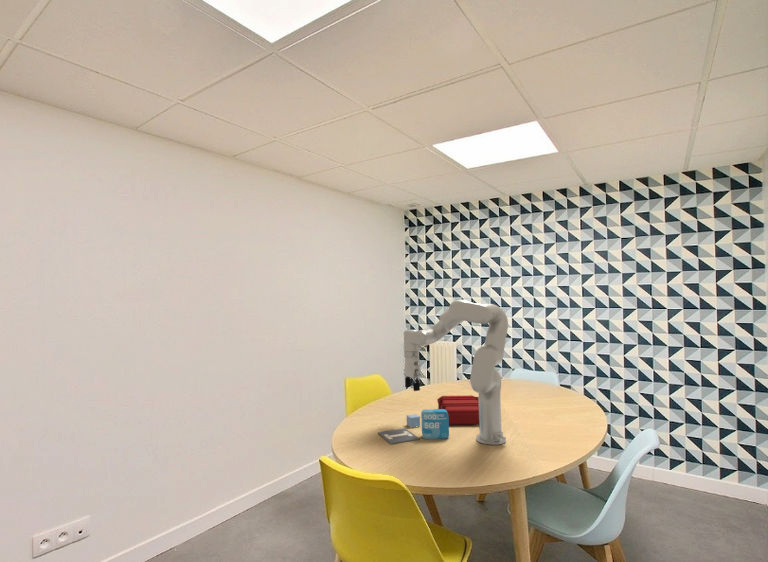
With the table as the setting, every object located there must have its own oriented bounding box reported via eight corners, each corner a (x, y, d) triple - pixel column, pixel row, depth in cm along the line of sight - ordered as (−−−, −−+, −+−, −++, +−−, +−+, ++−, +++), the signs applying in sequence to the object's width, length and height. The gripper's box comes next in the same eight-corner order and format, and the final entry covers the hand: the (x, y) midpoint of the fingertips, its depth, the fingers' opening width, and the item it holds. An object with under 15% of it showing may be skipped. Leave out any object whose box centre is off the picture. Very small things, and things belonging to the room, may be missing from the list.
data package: (422, 439, 177) (421, 412, 177) (421, 435, 181) (421, 409, 182) (449, 438, 176) (448, 411, 177) (447, 435, 181) (447, 408, 182)
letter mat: (419, 439, 176) (419, 438, 176) (390, 444, 171) (390, 443, 171) (404, 429, 191) (404, 428, 191) (378, 433, 186) (377, 432, 186)
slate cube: (420, 426, 194) (419, 416, 195) (411, 428, 192) (410, 417, 193) (415, 424, 199) (415, 414, 199) (406, 425, 197) (406, 415, 197)
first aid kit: (437, 409, 226) (436, 394, 227) (477, 408, 225) (477, 393, 226) (443, 426, 194) (442, 409, 195) (490, 426, 193) (489, 408, 194)
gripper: (426, 355, 191) (427, 391, 190) (411, 352, 207) (411, 384, 206) (412, 357, 188) (413, 393, 187) (397, 352, 204) (398, 386, 204)
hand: (412, 388), depth 197 cm, fingers open, 9 cm apart
